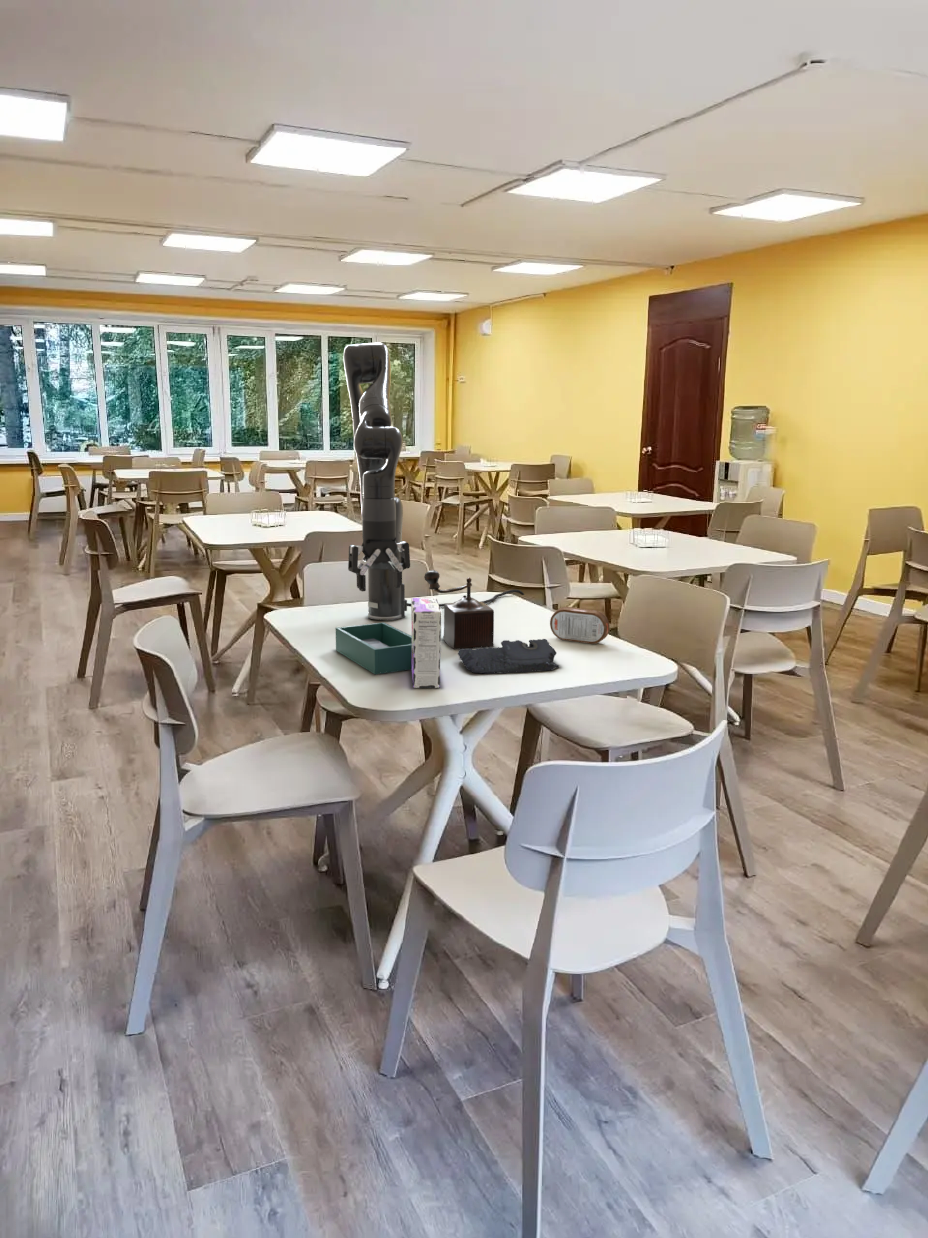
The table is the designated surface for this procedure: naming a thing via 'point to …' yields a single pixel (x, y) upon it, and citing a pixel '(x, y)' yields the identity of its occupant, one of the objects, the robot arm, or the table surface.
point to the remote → (375, 643)
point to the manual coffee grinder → (464, 618)
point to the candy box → (425, 642)
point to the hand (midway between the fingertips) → (379, 589)
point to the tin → (579, 625)
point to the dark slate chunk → (510, 657)
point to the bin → (376, 658)
